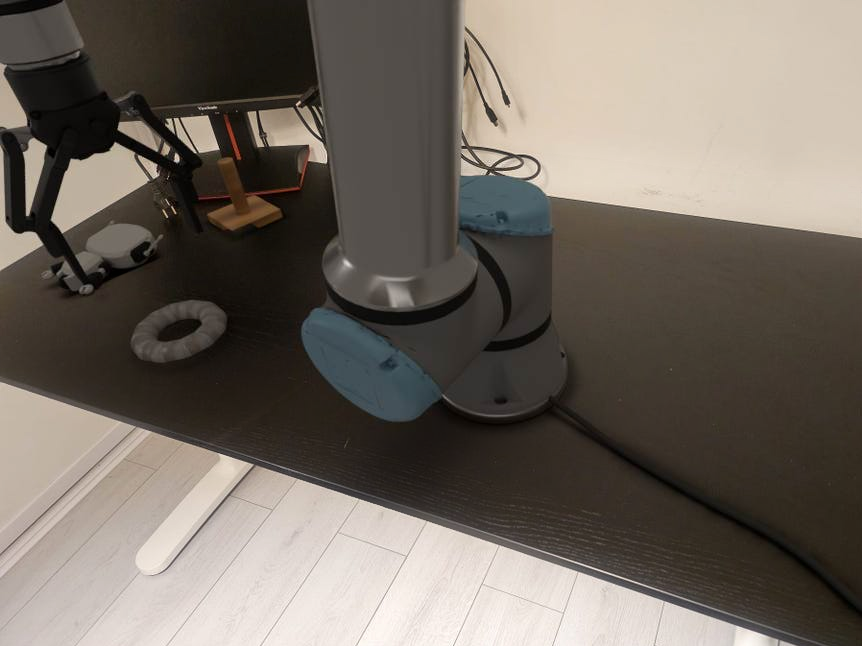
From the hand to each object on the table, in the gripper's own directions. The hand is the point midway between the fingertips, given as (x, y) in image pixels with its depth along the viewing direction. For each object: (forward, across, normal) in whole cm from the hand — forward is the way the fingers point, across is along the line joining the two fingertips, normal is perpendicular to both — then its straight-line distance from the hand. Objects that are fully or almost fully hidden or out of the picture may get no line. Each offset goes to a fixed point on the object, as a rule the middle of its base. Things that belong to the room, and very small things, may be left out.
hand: (141, 252), depth 72 cm
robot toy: (+13, 0, -25) cm, 29 cm away
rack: (+13, -22, -23) cm, 34 cm away
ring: (+11, 0, +1) cm, 11 cm away
